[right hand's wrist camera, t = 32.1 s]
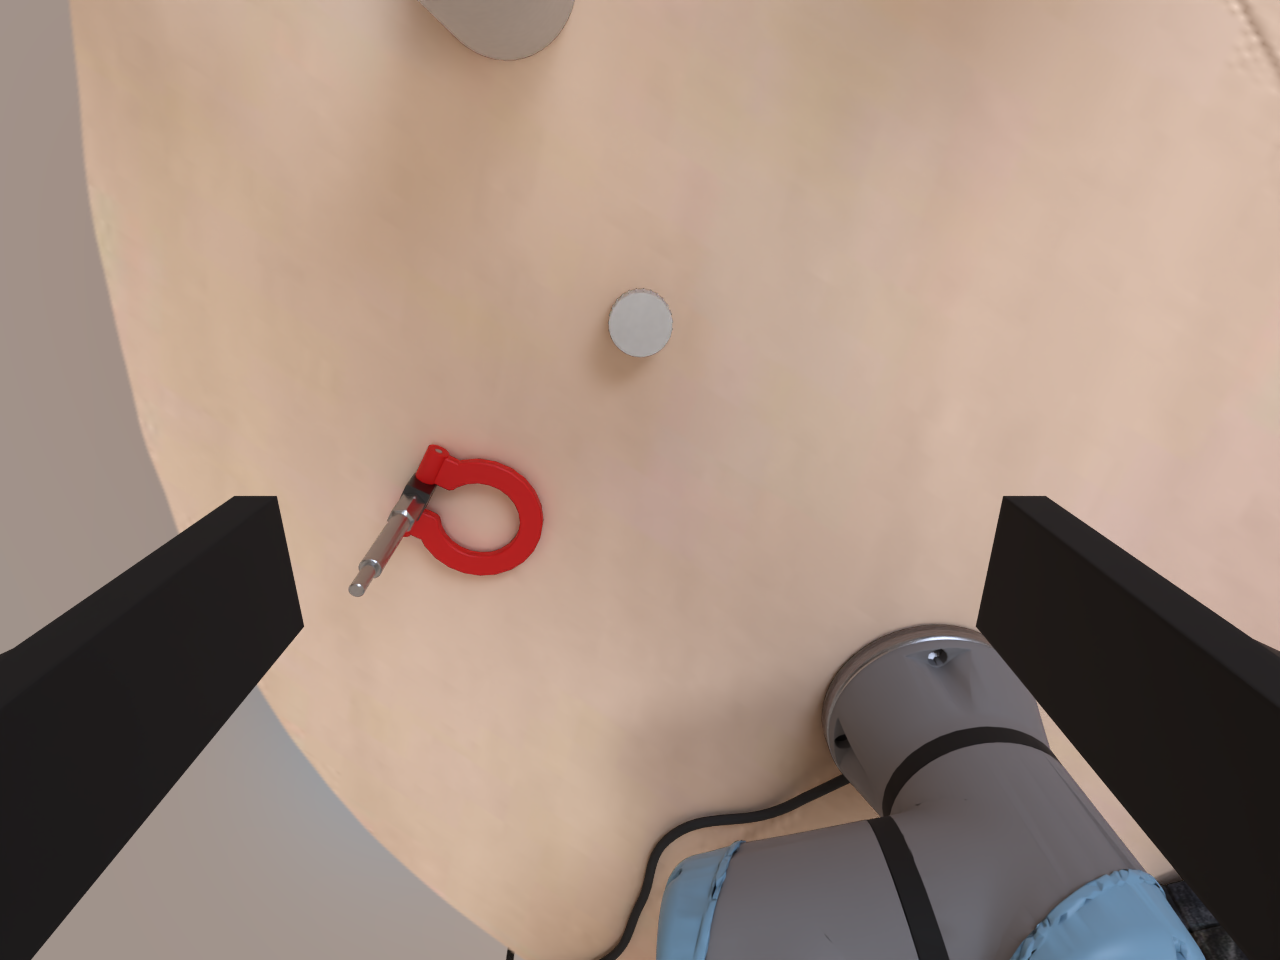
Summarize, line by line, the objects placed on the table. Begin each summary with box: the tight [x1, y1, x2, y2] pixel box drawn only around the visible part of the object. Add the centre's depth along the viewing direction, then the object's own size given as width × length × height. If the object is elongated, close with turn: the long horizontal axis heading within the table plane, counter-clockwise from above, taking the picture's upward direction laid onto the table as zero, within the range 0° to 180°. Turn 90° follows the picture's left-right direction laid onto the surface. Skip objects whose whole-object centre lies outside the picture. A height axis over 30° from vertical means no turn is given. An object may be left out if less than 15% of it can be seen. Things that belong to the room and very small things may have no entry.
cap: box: [608, 288, 673, 357], centre depth 41 cm, size 4×4×2 cm
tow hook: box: [349, 445, 543, 597], centre depth 40 cm, size 8×13×9 cm
